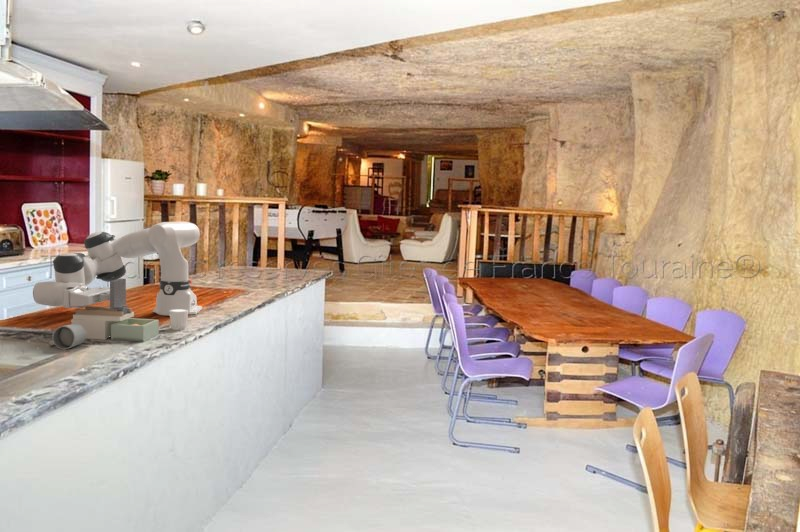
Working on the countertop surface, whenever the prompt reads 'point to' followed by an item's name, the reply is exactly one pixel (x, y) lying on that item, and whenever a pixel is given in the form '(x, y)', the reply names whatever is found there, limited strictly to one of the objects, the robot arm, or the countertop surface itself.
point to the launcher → (99, 320)
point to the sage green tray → (134, 329)
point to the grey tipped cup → (68, 336)
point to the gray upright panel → (118, 295)
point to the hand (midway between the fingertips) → (115, 297)
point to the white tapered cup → (178, 319)
